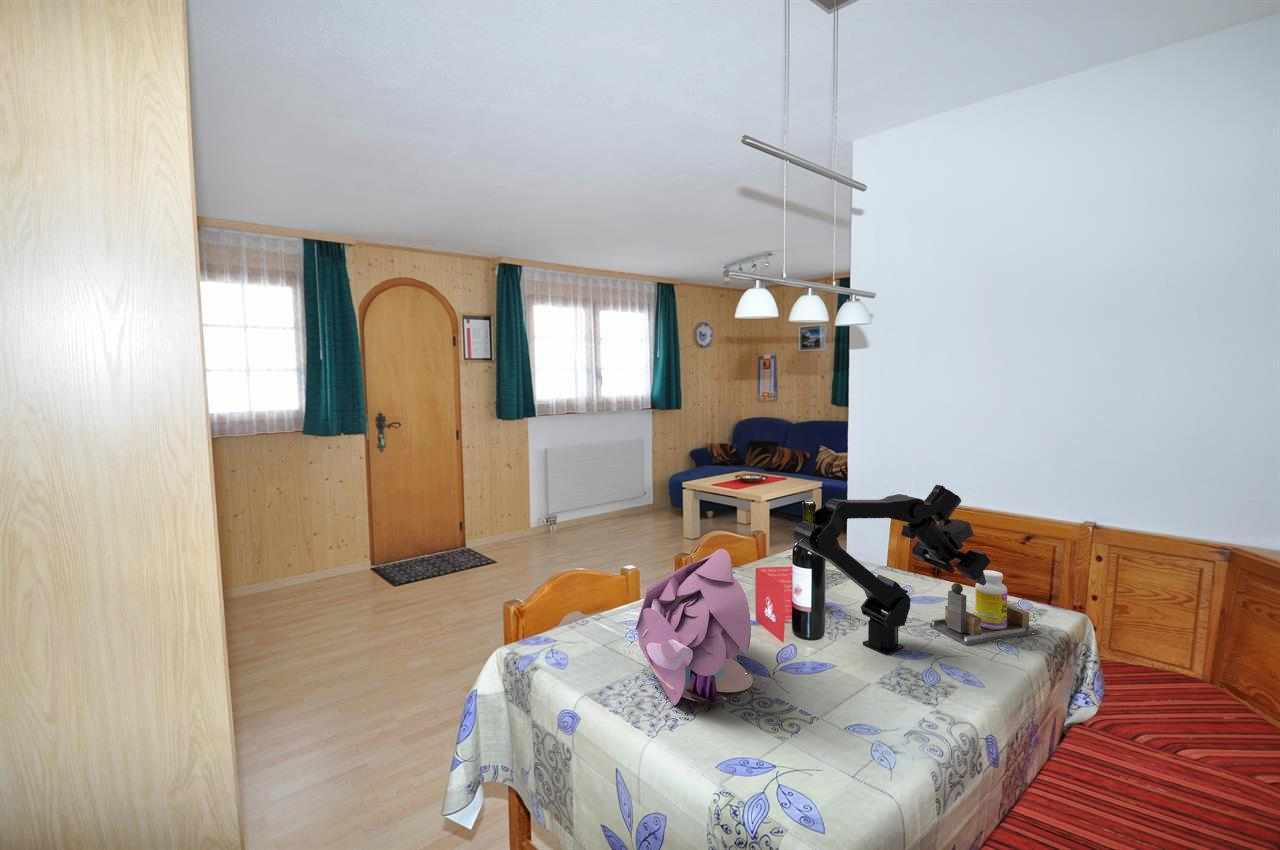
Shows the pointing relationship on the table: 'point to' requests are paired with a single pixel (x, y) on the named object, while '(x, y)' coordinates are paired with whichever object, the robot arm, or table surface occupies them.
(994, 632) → the bench clamp
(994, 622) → the supplement bottle
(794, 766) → the table surface
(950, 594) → the sliding jaw
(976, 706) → the table surface
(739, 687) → the flower arrangement
